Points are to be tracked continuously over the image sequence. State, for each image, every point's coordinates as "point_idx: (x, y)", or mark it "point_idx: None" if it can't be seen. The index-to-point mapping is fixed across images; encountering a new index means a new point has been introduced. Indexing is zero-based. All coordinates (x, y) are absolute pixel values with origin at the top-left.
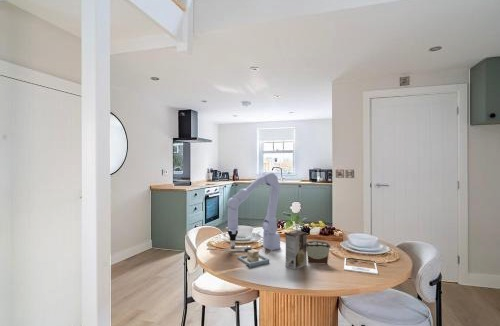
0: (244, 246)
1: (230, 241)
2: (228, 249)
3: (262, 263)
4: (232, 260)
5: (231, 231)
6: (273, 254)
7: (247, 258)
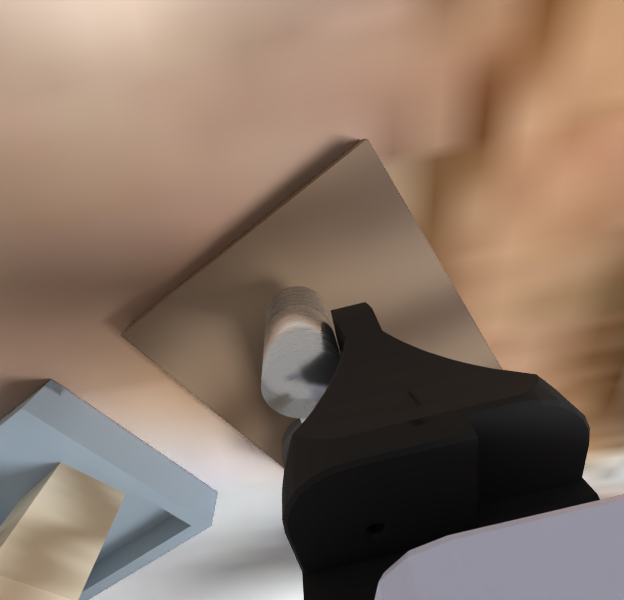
0: None
1: (338, 323)
2: (352, 236)
3: None
4: (31, 332)
5: (369, 569)
6: (294, 563)
7: (48, 479)
